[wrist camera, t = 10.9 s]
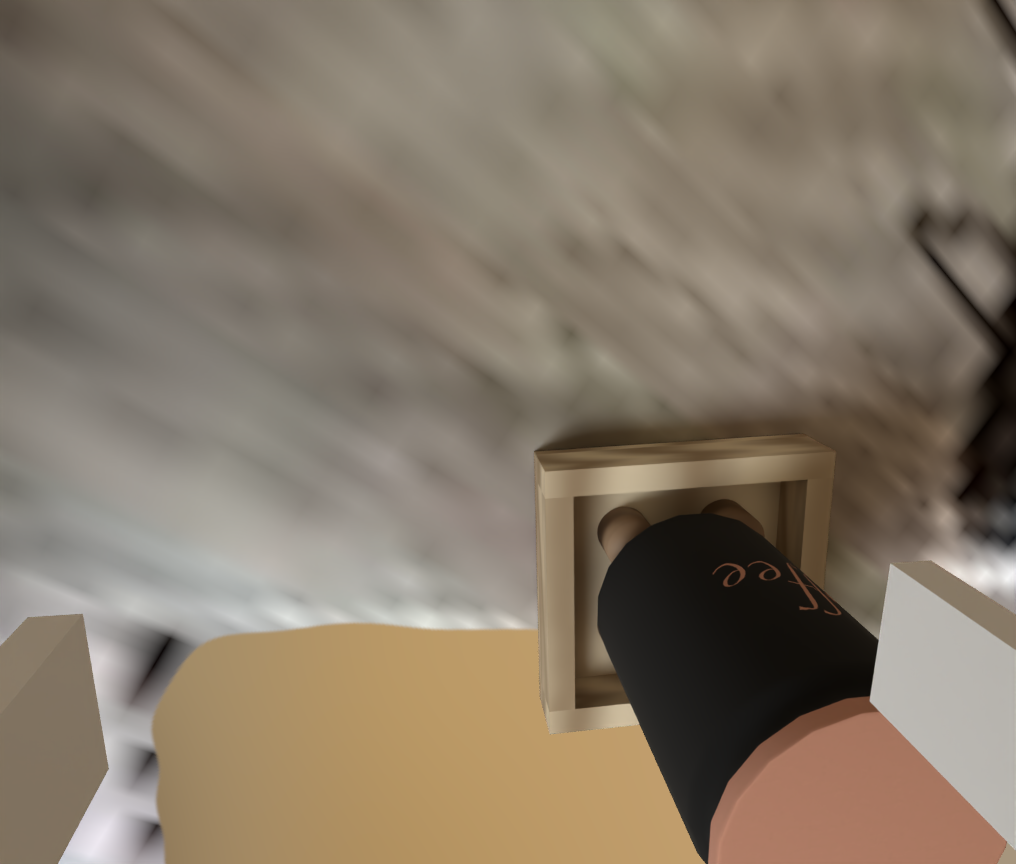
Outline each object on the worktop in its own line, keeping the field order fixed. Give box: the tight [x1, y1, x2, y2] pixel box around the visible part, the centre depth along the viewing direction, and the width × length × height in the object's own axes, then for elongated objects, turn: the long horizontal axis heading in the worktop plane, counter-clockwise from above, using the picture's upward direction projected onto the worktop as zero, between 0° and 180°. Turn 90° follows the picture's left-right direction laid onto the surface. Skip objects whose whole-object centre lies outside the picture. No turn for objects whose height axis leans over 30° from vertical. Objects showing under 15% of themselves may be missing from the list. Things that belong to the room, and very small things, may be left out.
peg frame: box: [534, 434, 836, 734], centre depth 44 cm, size 16×16×4 cm
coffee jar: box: [597, 513, 1007, 864], centre depth 34 cm, size 11×11×18 cm
